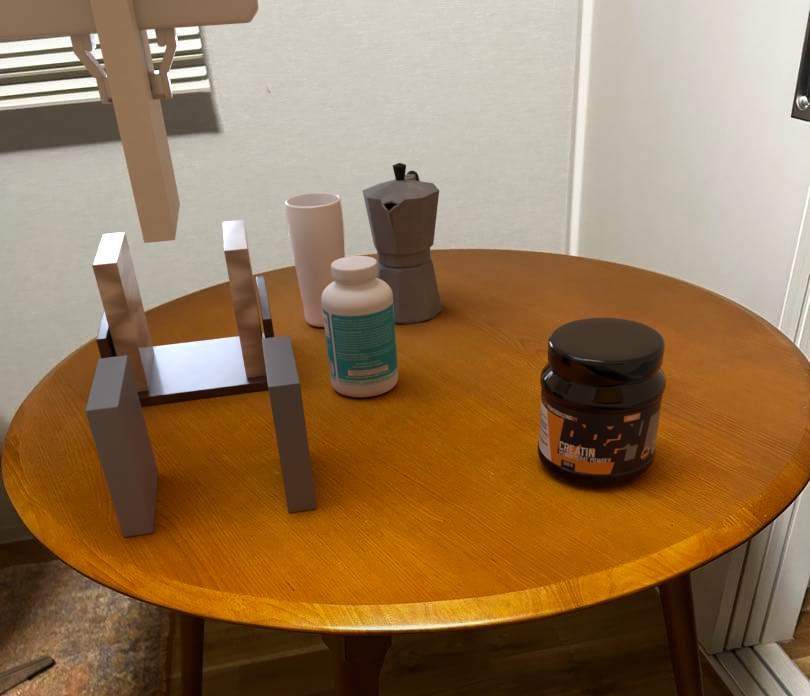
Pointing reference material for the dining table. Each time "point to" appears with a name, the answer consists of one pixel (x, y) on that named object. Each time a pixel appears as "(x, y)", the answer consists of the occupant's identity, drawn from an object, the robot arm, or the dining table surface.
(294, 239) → the drinking glass
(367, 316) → the pill bottle
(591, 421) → the supplement container
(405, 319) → the coffeepot
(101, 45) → the white book
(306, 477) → the grey books
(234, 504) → the dining table surface
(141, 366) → the book rack
